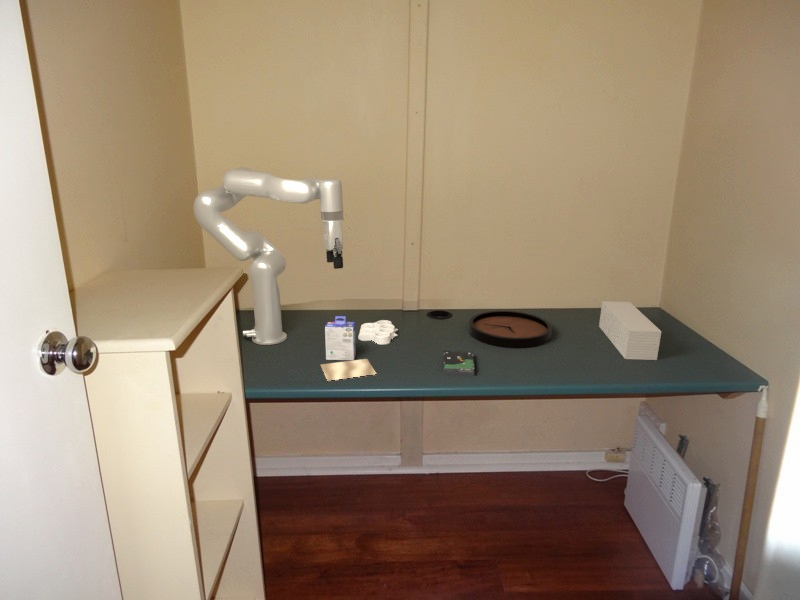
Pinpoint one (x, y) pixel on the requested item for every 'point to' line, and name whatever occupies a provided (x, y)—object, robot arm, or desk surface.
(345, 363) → the board
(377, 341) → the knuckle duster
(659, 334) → the stack of papers
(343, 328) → the ink cartridge box
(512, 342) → the wall clock
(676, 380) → the desk surface
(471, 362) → the disk drive
